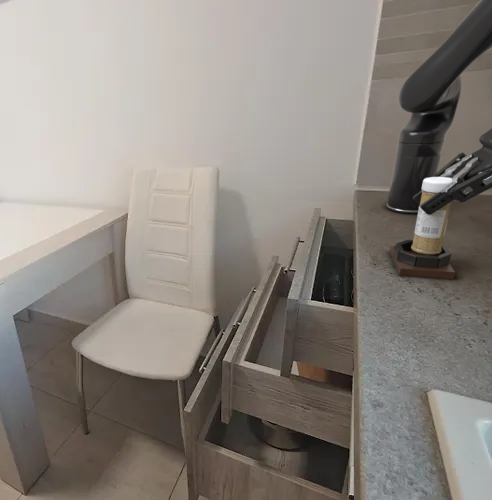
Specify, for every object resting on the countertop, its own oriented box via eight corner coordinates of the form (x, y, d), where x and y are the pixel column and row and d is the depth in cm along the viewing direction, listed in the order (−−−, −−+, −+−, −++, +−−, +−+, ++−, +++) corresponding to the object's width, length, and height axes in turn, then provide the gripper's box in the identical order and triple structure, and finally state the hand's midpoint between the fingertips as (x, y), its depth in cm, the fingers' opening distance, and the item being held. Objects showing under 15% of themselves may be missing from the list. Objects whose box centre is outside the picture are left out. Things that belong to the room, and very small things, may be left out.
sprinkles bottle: (445, 250, 67) (461, 177, 62) (434, 257, 65) (450, 183, 60) (417, 244, 71) (430, 175, 66) (405, 251, 69) (418, 180, 64)
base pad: (389, 252, 76) (392, 236, 74) (437, 255, 73) (440, 239, 71) (399, 275, 67) (402, 258, 66) (453, 279, 64) (458, 261, 63)
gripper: (576, 158, 50) (447, 235, 60) (525, 141, 62) (424, 208, 72) (536, 120, 50) (414, 204, 60) (493, 110, 62) (396, 181, 72)
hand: (420, 205), depth 66 cm, fingers closed on sprinkles bottle, 4 cm apart
